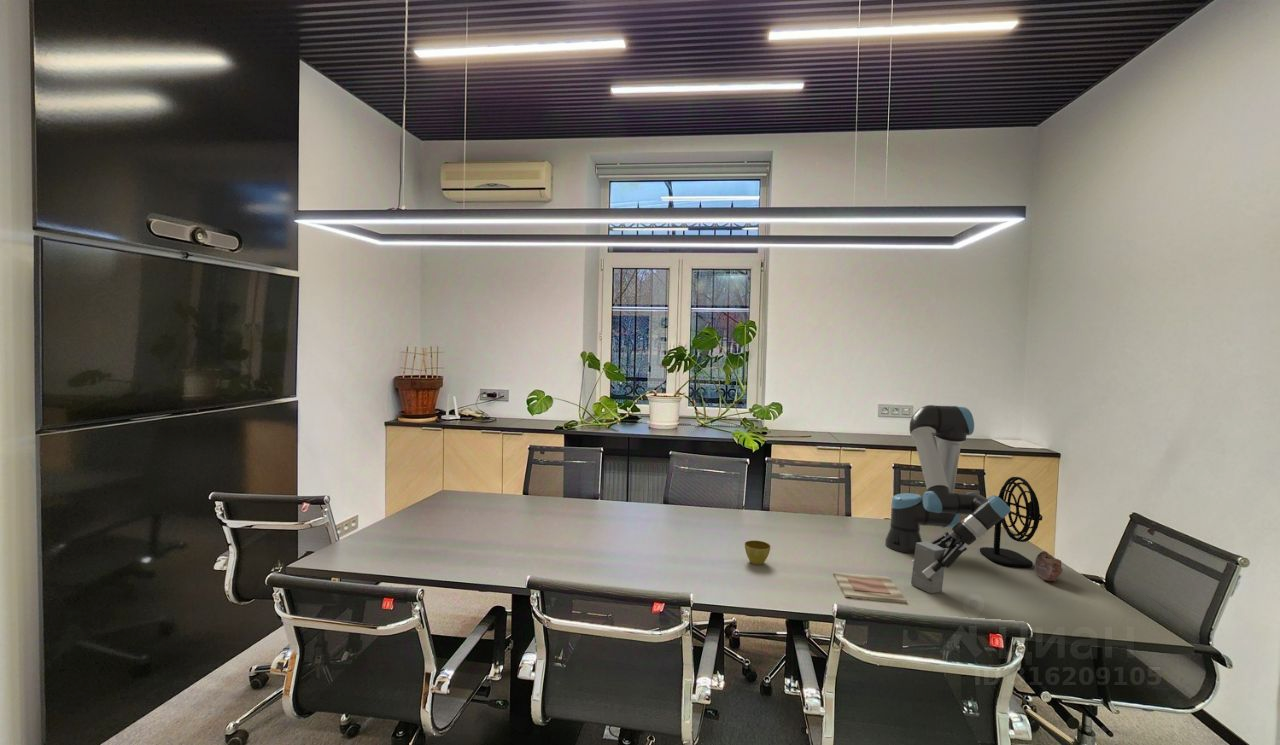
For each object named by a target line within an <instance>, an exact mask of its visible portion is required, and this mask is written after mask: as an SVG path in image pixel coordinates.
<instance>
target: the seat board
mask: <svg viewBox="0 0 1280 745" xmlns="http://www.w3.org/2000/svg"><path fill="white" fill-rule="evenodd" d="M832 573H833V574H832V575H834V576H833V577H834V579H835V581H836V584H837V585H838V586H839V589H840V591H841V590H842V591H841V592H843V593H842V594H844V595H843V597H844V598H846V597H853V598H852V599H857V598H863V599H862V600H867V599H870V600H871V601H879V602H881V601H882V602H888V603H889V602H891V603H903V604H907V598H906V597H905V596H904V595H903V594H902V592H901V591H900V590H899V589H898V587H897V585H895V583H894V582H893V581H892V579H891V578H890V577H889V576H883V575H881V576H880V575H869V574H856V573H848V572H837V571H834V572H832Z"/></svg>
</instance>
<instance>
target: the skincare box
mask: <svg viewBox="0 0 1280 745" xmlns="http://www.w3.org/2000/svg"><path fill="white" fill-rule="evenodd" d="M930 542H931V541H930ZM930 542H929V541H922V542H917V543H916V547H915V553H914V556H913V557H914V558H913V560H914V563H913V564H912V573H911V581H910V583H911V585H912V586H914V587H916V588H918V589H920V590H922V591H924V592H927V593H929V594H933V593H940V592H942V591H943V586H944V585H943V584H944V575H945V568H946V567H942V568H941V569H939V570H938V571H937V572H936V573H934V574H933V575H932V576H931V577H929V578H927V577H926V576H925V575H924V574H923V573H922V571H924V570H925V569H926V568H927V567H929V566H930V565H931V564H932V563H934V562H935V561H936V560H937V559H940V558H941V556H942V555H943V553H944V552H945V550H946V549H947V548H945V549H944V548H942V547H939V546H938V545H935V544H932V543H930Z"/></svg>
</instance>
